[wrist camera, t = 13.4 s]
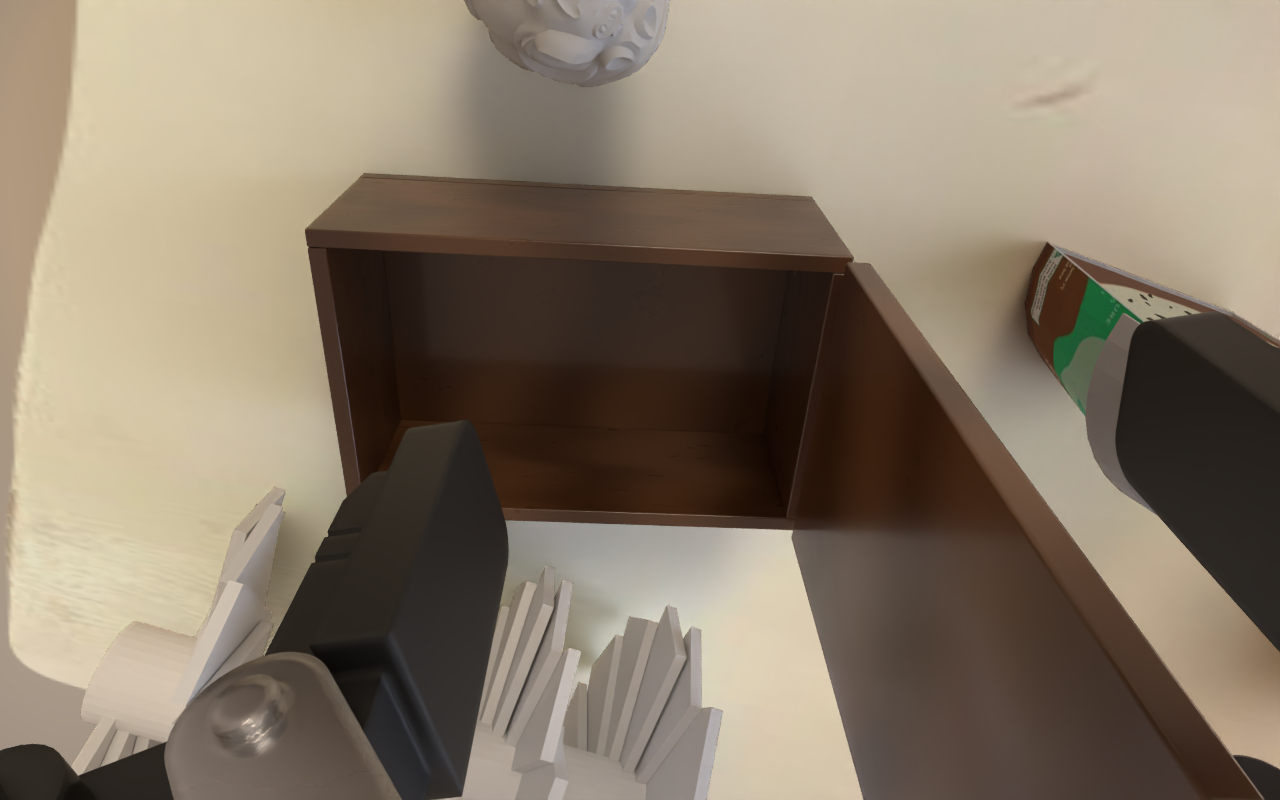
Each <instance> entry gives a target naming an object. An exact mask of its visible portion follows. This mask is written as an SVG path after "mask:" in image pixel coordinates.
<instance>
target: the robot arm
mask: <svg viewBox="0 0 1280 800" xmlns="http://www.w3.org/2000/svg"><path fill="white" fill-rule="evenodd" d="M1115 445H1116V453H1117V457H1118V461H1119V464H1120V467H1121V470H1122V472H1123V474H1124V476H1125V478H1126V479H1127V481H1128V482H1129V484H1130V485H1131V486H1132V487H1133V488H1134V489H1135V491H1136V492H1137V493H1138V494H1139V495H1140V496H1141V497H1142V498H1143V500H1144V501H1145V502H1146V503H1147V504H1148V505H1149V506H1150V507H1151V509H1152V510H1153V511H1154V512H1155V513H1156V514H1157V515H1158V516H1159V517H1160V519H1161V520H1162V521H1163V522H1164V523H1165V524H1166V525H1167V526H1168V528H1169V529H1170V530H1171V531H1172V532H1173V533H1174V534H1175V535H1176V537H1177V538H1178V539H1179V540H1180V541H1181V542H1182V543H1183V544H1184V545H1185V547H1186V548H1187V549H1188V550H1189V551H1190V552H1191V553H1192V554H1193V556H1194V557H1195V558H1196V559H1197V560H1198V561H1199V562H1200V563H1201V565H1202V566H1203V567H1204V568H1205V569H1206V570H1207V571H1208V572H1209V573H1210V575H1211V576H1212V577H1213V578H1214V579H1215V580H1216V581H1217V582H1218V584H1219V585H1220V586H1221V587H1222V588H1223V589H1224V590H1225V591H1226V593H1227V594H1228V595H1229V596H1230V597H1231V598H1232V599H1233V600H1234V601H1235V603H1236V604H1237V605H1238V606H1239V607H1240V608H1241V609H1242V610H1243V612H1244V613H1245V614H1246V615H1247V616H1248V617H1249V618H1250V619H1251V620H1252V622H1253V623H1254V624H1255V625H1256V626H1257V627H1258V628H1259V629H1260V631H1261V632H1262V633H1263V634H1264V635H1265V636H1266V637H1267V638H1268V640H1269V641H1270V642H1271V643H1272V644H1273V645H1274V646H1275V647H1276V648H1277V650H1278V651H1279V652H1280V348H1278V347H1276V346H1273V345H1271V344H1269V343H1268V342H1266V341H1265V340H1263V339H1261V338H1260V337H1258V336H1257V335H1255V334H1254V333H1252V332H1251V331H1249V330H1248V329H1246V328H1245V327H1243V326H1242V325H1240V324H1239V323H1237V322H1235V321H1234V320H1232V319H1231V318H1229V317H1228V316H1226V315H1224V314H1222V313H1220V312H1216V311H1213V312H1204V313H1197V314H1190V315H1184V316H1177V317H1170V318H1163V319H1157V320H1150V321H1145V322H1143V323H1141V324H1140V325H1139V326H1138V327H1137V328H1136V329H1135V331H1134V333H1133V335H1132V338H1131V341H1130V346H1129V352H1128V358H1127V365H1126V371H1125V377H1124V383H1123V389H1122V395H1121V402H1120V408H1119V414H1118V420H1117V426H1116V434H1115ZM508 551H509V550H508V535H507V528H506V523H505V518H504V515H503V511H502V508H501V505H500V502H499V499H498V496H497V493H496V490H495V486H494V483H493V480H492V477H491V474H490V471H489V468H488V465H487V461H486V458H485V455H484V452H483V449H482V446H481V443H480V440H479V437H478V434H477V431H476V429H475V427H474V426H473V424H472V423H471V422H470V421H469V420H461V421H454V422H447V423H440V424H434V425H427V426H420V427H413V428H409V429H408V430H407V431H406V432H405V434H404V436H403V438H402V441H401V443H400V445H399V447H398V449H397V452H396V454H395V456H394V458H393V461H392V463H391V465H390V467H389V469H388V471H382V472H375V473H372V474H370V475H369V476H368V477H367V478H366V479H365V480H364V481H363V482H362V483H361V484H360V485H359V486H358V487H357V488H356V489H355V490H354V491H353V492H352V493H351V494H350V495H349V496H348V497H347V498H346V499H345V500H344V501H343V502H342V504H341V506H340V508H339V510H338V512H337V514H336V516H335V518H334V520H333V522H332V524H331V526H330V528H329V530H328V537H325V538H324V540H323V542H322V543H321V545H320V547H319V549H318V551H317V553H316V555H315V563H312V564H311V565H310V567H309V569H308V571H307V573H306V575H305V577H304V579H303V581H302V583H301V585H300V587H299V589H298V591H297V593H296V595H295V597H294V599H293V601H292V603H291V605H290V607H289V609H288V611H287V613H286V615H285V617H284V619H283V621H282V623H281V625H280V627H279V629H278V631H277V632H276V634H275V636H274V638H273V640H272V642H271V644H270V646H269V648H268V650H267V652H266V654H265V656H263V657H259V658H257V659H254V660H251V661H249V662H246V663H244V664H242V665H240V666H238V667H236V668H234V669H232V670H231V671H229V672H228V673H226V674H224V675H223V676H221V677H220V678H218V679H217V680H216V681H214V682H213V683H212V684H210V685H209V686H208V687H206V688H205V689H204V690H203V691H202V692H201V693H200V694H199V695H198V696H197V697H195V698H194V700H193V701H192V702H191V703H190V704H189V705H188V706H187V707H186V709H185V710H184V711H183V713H182V714H181V715H180V717H179V718H178V720H177V721H176V723H175V725H174V726H173V728H172V730H171V732H170V734H169V737H168V740H167V742H164V743H162V744H159V745H157V746H154V747H151V748H149V749H146V750H144V751H141V752H138V753H136V754H133V755H130V756H128V757H125V758H123V759H120V760H117V761H115V762H112V763H110V764H107V765H104V766H102V767H99V768H97V769H94V770H91V771H89V772H86V773H84V774H81V775H77V774H76V772H75V771H74V770H73V769H72V768H71V767H70V766H69V764H68V763H67V762H66V761H65V759H64V758H63V757H62V756H61V755H60V754H59V753H58V752H57V751H56V750H55V749H53V748H51V747H48V746H46V745H39V744H28V745H19V746H15V747H11V748H7V749H4V750H1V751H0V800H436V799H445V798H454V797H462V794H463V789H464V784H465V779H466V774H467V769H468V764H469V759H470V754H471V749H472V744H473V738H474V733H475V728H476V723H477V718H478V713H479V708H480V703H481V698H482V693H483V688H484V682H485V677H486V672H487V667H488V662H489V657H490V652H491V647H492V642H493V637H494V632H495V627H496V621H497V616H498V611H499V606H500V601H501V596H502V591H503V586H504V581H505V576H506V571H507V565H508Z"/></svg>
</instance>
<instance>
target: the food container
mask: <svg viewBox="0 0 1280 800" xmlns="http://www.w3.org/2000/svg"><path fill="white" fill-rule="evenodd" d="M1025 310H1026V319H1027V329H1028V335H1029V337H1030V338H1031V340H1032V342H1033V344H1034V346H1035V347H1036V349H1037V351H1038V353H1039V355H1040V356H1041V358H1042V359H1043V361H1044V362H1045V363H1046V365H1047V366H1048V367H1049V369H1050V370H1051V371H1052V373H1053V374H1054V375H1055V377H1056V378H1057V379H1058V381H1059V382H1060V383H1061V385H1062V386H1063V387H1064V389H1065V390H1066V391H1067V393H1068V394H1069V395H1070V397H1071V398H1072V399H1073V401H1074V402H1075V403H1076V405H1077V406H1078V407H1079V409H1080V410H1081V411H1082V413H1083V414H1084V415H1085V417H1086V425H1087V435H1088V440H1089V443H1090V446H1091V449H1092V452H1093V455H1094V458H1095V460H1096V462H1097V463H1098V465H1099V466H1100V468H1101V470H1102V471H1103V473H1104V475H1105V476H1106V477H1107V478H1108V479H1109V480H1110V481H1111V482H1112V483H1113V484H1114V485H1115V486H1116V487H1117V488H1118V489H1119V490H1120V491H1121V492H1123V493H1124V494H1126V495H1127V496H1129V497H1130V498H1132V499H1133V500H1135V501H1136V502H1138V503H1139V504H1141V505H1142V506H1144V507H1146V508H1147V509H1149V510H1150V511H1152V512H1153V513H1155V512H1154V511H1153V510H1152V509H1151V507H1150V506H1149V505H1148V504H1147V503H1146V502H1145V501H1144V500H1143V498H1142V497H1141V496H1140V495H1139V494H1138V493H1137V492H1136V491H1135V489H1134V488H1133V487H1132V486H1131V485H1130V484H1129V482H1128V481H1127V479H1126V478H1125V476H1124V474H1123V472H1122V470H1121V467H1120V464H1119V461H1118V457H1117V453H1116V445H1115V434H1116V426H1117V420H1118V414H1119V408H1120V402H1121V395H1122V389H1123V383H1124V377H1125V371H1126V365H1127V358H1128V352H1129V346H1130V341H1131V338H1132V335H1133V333H1134V331H1135V329H1136V328H1137V327H1138V326H1139V325H1140V324H1141V323H1143V322H1145V321H1150V320H1157V319H1163V318H1170V317H1177V316H1184V315H1190V314H1197V313H1204V312H1213V311H1216V312H1220V313H1222V314H1224V315H1226V316H1228V317H1229V318H1231V319H1232V320H1234V321H1235V322H1237V323H1239V324H1240V325H1242V326H1243V327H1245V328H1246V329H1248V330H1249V331H1251V332H1252V333H1254V334H1255V335H1257V336H1258V337H1260V338H1261V339H1263V340H1265V341H1266V342H1268V343H1269V344H1271V345H1273V346H1276V347H1278V348H1280V340H1278V339H1277V338H1275V337H1273V336H1272V335H1270V334H1268V333H1267V332H1265V331H1263V330H1262V329H1260V328H1258V327H1257V326H1255V325H1253V324H1252V323H1250V322H1249V321H1247V320H1245V319H1244V318H1242V317H1240V316H1239V315H1237V314H1235V313H1233V312H1231V311H1228V310H1225V309H1223V308H1220V307H1218V306H1215V305H1212V304H1210V303H1207V302H1204V301H1202V300H1199V299H1196V298H1194V297H1191V296H1188V295H1186V294H1183V293H1181V292H1178V291H1175V290H1173V289H1170V288H1167V287H1165V286H1162V285H1159V284H1157V283H1154V282H1151V281H1149V280H1146V279H1143V278H1141V277H1138V276H1136V275H1133V274H1130V273H1128V272H1125V271H1122V270H1120V269H1117V268H1114V267H1112V266H1109V265H1106V264H1104V263H1101V262H1098V261H1096V260H1093V259H1091V258H1088V257H1085V256H1083V255H1080V254H1077V253H1075V252H1072V251H1069V250H1067V249H1064V248H1061V247H1059V246H1056V245H1054V244H1051V243H1048V242H1047V244H1046V246H1045V248H1044V250H1043V251H1042V253H1041V255H1040V257H1039V259H1038V261H1037V263H1036V264H1035V266H1034V268H1033V272H1032V276H1031V280H1030V284H1029V288H1028V292H1027V296H1026V300H1025ZM1155 514H1156V513H1155ZM1156 515H1157V514H1156Z"/></svg>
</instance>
